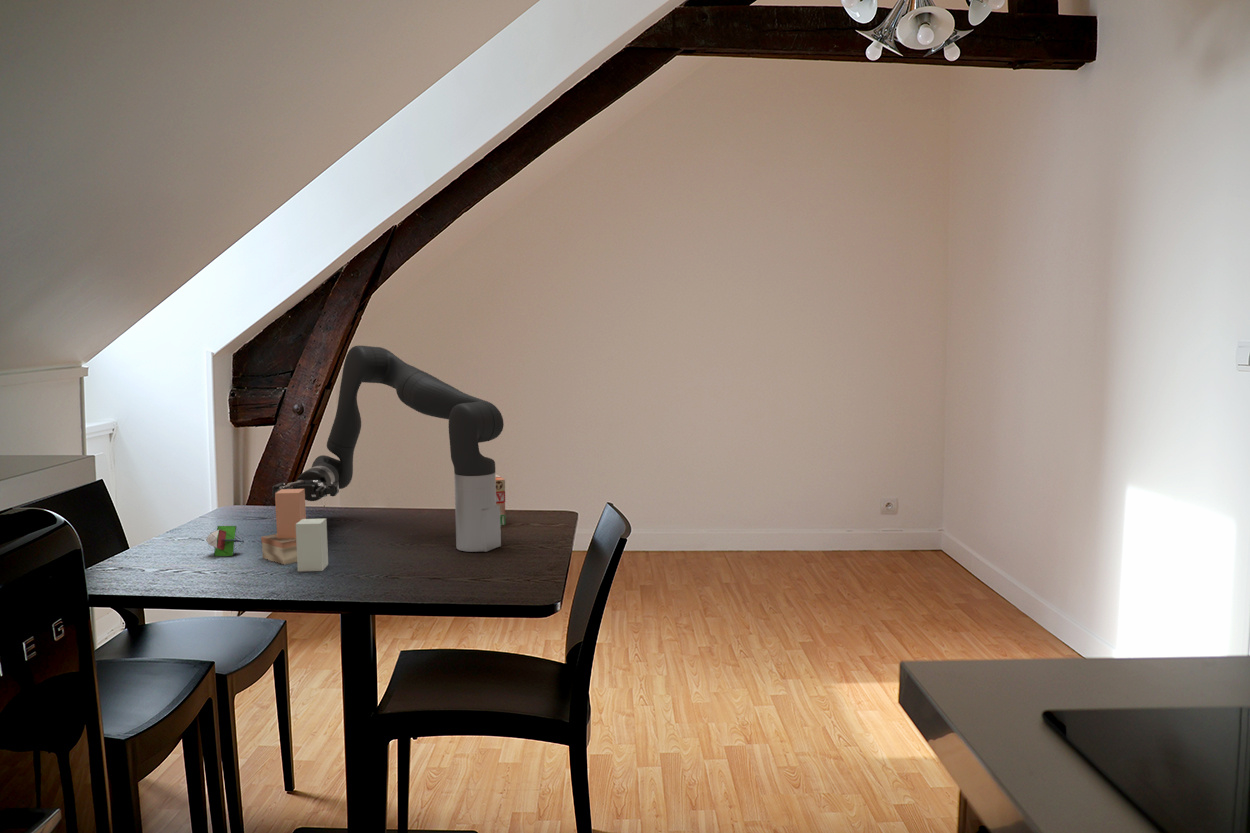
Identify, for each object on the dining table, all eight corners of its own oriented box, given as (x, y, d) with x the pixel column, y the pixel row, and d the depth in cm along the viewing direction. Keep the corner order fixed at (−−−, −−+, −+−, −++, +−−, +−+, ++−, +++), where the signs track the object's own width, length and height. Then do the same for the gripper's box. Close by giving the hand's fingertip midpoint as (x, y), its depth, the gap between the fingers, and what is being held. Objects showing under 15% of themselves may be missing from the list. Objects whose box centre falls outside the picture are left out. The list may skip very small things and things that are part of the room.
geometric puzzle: (221, 539, 209) (209, 516, 204) (251, 539, 209) (239, 516, 204) (210, 564, 204) (198, 541, 199) (240, 564, 204) (229, 541, 198)
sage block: (328, 564, 195) (326, 518, 194) (322, 570, 190) (320, 523, 189) (304, 565, 195) (302, 519, 194) (297, 571, 190) (295, 524, 189)
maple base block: (322, 557, 202) (321, 535, 202) (284, 565, 195) (282, 542, 195) (300, 551, 208) (299, 529, 208) (262, 559, 201) (261, 536, 201)
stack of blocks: (459, 513, 248) (458, 468, 247) (481, 511, 251) (480, 466, 250) (482, 528, 229) (481, 480, 228) (506, 526, 232) (505, 478, 230)
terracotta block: (306, 532, 204) (304, 488, 203) (300, 538, 199) (298, 492, 198) (283, 533, 204) (281, 489, 203) (277, 538, 199) (274, 493, 198)
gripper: (285, 468, 222) (265, 479, 206) (345, 467, 223) (329, 478, 207) (286, 498, 223) (266, 512, 207) (346, 497, 224) (330, 510, 208)
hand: (298, 495), depth 207 cm, fingers open, 8 cm apart
